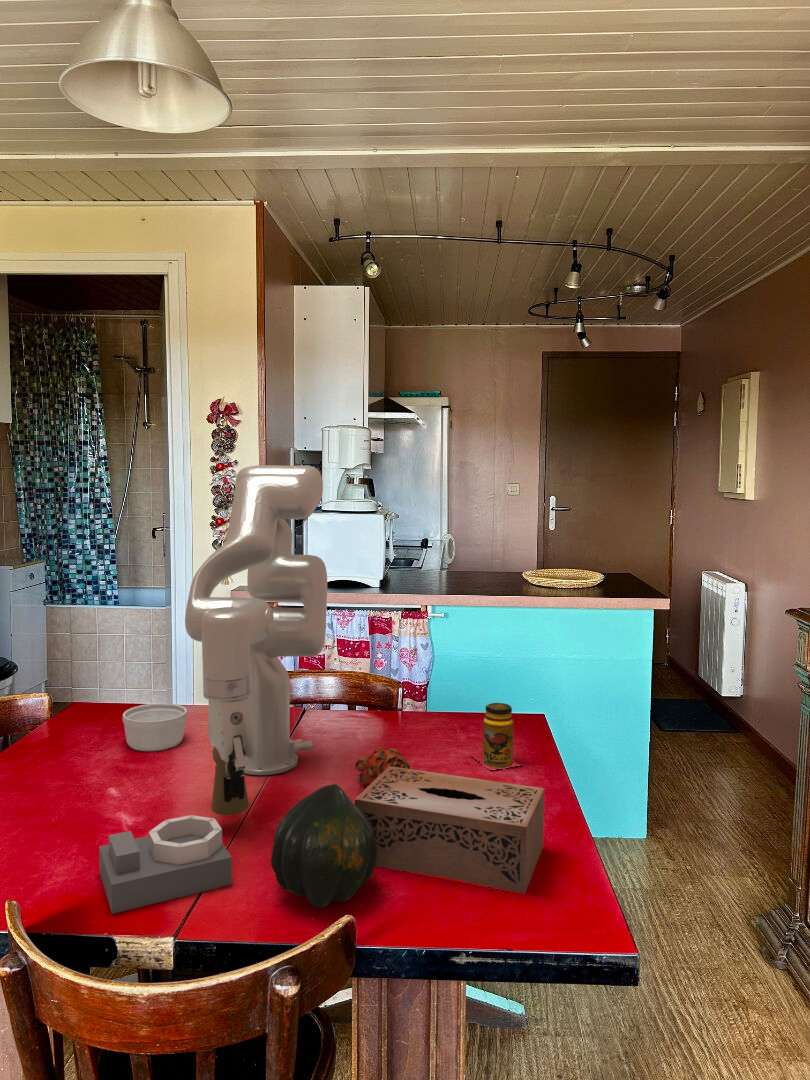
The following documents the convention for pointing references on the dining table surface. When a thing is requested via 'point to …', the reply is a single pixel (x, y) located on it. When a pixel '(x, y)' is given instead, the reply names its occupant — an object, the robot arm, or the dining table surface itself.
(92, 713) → the dining table surface
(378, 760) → the dragon fruit
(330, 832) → the squash
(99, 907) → the dining table surface
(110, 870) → the mount
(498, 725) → the condiment
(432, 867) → the tissue box cover
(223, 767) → the brown pawn shaped peg
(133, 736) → the ramekin
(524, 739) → the dining table surface
